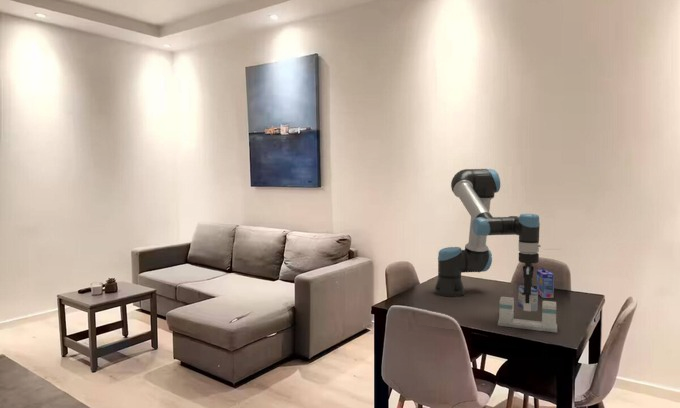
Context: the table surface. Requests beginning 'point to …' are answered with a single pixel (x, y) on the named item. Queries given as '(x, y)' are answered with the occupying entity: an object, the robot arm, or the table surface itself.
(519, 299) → the medicine box
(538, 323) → the white u-shaped block
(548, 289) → the ink cartridge box
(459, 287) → the robot arm
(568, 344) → the table surface
